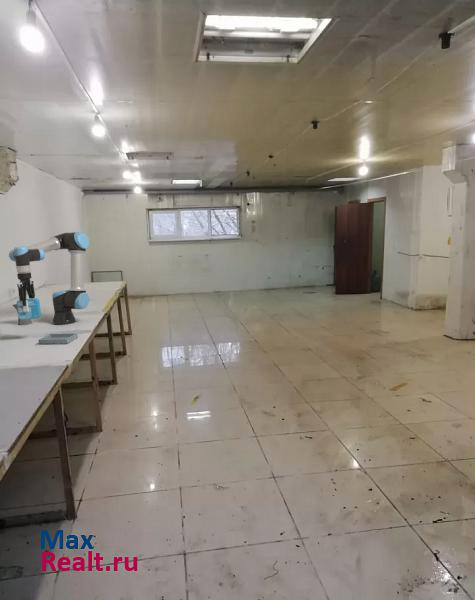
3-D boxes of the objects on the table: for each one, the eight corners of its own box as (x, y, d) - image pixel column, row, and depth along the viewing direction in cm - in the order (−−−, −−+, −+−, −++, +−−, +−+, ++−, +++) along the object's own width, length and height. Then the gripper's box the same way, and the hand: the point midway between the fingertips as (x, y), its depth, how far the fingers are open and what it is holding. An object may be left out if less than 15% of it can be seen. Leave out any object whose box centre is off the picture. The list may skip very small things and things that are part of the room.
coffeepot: (15, 326, 302) (11, 301, 299) (14, 324, 310) (11, 300, 307) (39, 323, 310) (35, 298, 307) (37, 320, 318) (34, 297, 315)
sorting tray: (50, 338, 264) (50, 333, 263) (77, 337, 262) (77, 333, 261) (38, 344, 250) (38, 339, 250) (67, 344, 249) (66, 339, 248)
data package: (18, 319, 258) (16, 300, 256) (21, 318, 263) (18, 299, 261) (39, 318, 260) (37, 299, 258) (41, 316, 265) (39, 297, 263)
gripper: (26, 270, 266) (31, 307, 270) (8, 274, 248) (14, 313, 252) (38, 270, 265) (43, 306, 269) (20, 274, 247) (26, 312, 251)
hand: (29, 309), depth 261 cm, fingers closed on data package, 5 cm apart
